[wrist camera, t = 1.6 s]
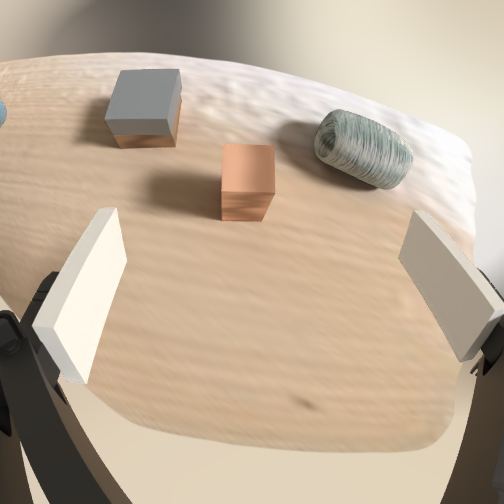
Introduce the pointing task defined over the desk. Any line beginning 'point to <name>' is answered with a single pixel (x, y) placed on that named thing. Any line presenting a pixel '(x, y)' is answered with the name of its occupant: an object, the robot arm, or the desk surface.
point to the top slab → (144, 102)
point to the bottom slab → (150, 137)
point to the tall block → (247, 181)
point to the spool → (363, 149)
